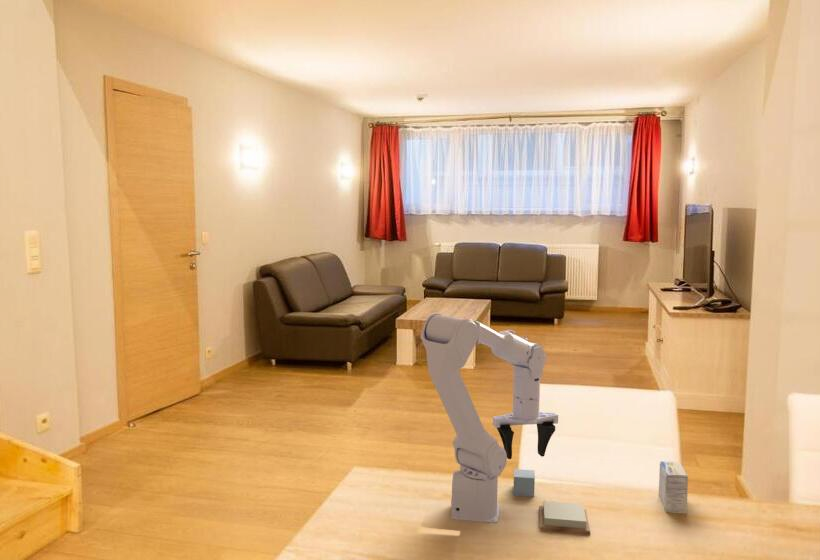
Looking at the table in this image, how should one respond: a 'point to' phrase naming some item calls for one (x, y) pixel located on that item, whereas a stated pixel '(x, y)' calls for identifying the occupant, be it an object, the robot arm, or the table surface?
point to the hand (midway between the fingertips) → (524, 456)
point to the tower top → (564, 514)
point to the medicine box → (673, 487)
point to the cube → (524, 482)
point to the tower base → (562, 529)
